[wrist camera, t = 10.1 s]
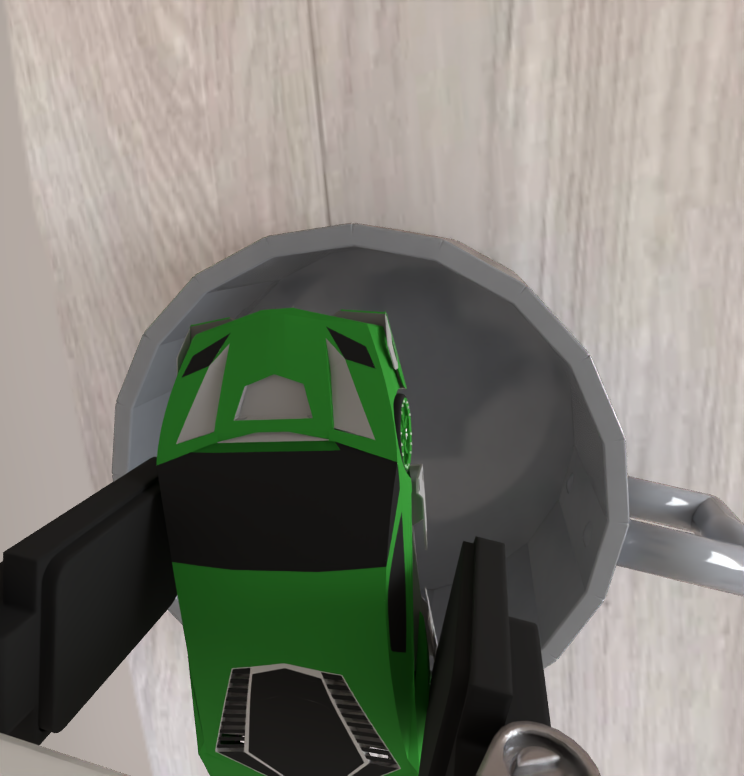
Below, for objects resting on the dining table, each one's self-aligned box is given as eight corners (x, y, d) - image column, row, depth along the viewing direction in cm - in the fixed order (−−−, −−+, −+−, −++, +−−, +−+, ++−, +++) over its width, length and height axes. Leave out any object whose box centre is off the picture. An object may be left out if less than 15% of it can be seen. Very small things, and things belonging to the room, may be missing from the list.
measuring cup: (197, 544, 23) (101, 644, 17) (232, 199, 20) (126, 182, 14) (649, 664, 21) (711, 826, 15) (781, 297, 17) (927, 325, 11)
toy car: (169, 314, 11) (93, 331, 9) (415, 296, 10) (395, 311, 8) (240, 750, 14) (193, 847, 11) (448, 769, 13) (439, 879, 10)
